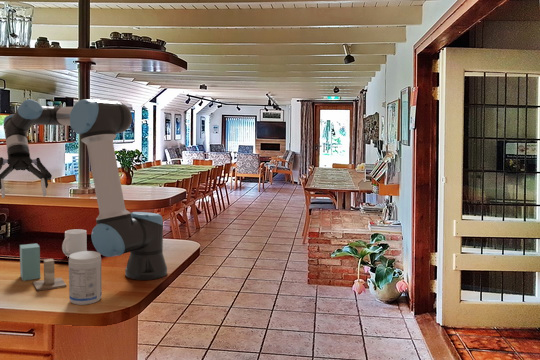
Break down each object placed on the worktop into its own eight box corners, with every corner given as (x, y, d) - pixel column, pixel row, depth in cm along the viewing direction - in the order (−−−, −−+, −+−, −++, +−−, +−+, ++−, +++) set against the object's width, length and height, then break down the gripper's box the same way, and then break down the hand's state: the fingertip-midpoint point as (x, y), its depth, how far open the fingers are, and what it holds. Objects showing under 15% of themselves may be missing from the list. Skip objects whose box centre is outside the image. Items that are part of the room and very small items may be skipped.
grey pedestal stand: (32, 283, 161) (32, 258, 160) (60, 278, 166) (60, 255, 165) (37, 291, 153) (36, 265, 152) (66, 286, 158) (65, 261, 157)
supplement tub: (80, 293, 153) (79, 249, 151) (107, 296, 151) (107, 251, 150) (62, 304, 143) (62, 257, 141) (91, 307, 142) (91, 260, 140)
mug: (71, 261, 186) (71, 236, 185) (54, 259, 189) (53, 234, 187) (90, 254, 198) (90, 230, 197) (74, 252, 200) (74, 228, 199)
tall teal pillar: (20, 276, 167) (19, 245, 166) (37, 273, 170) (37, 243, 169) (22, 280, 163) (21, 248, 161) (40, 278, 166) (39, 246, 164)
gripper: (51, 155, 191) (59, 199, 182) (-21, 154, 176) (-16, 202, 167) (54, 144, 186) (62, 188, 177) (-19, 142, 171) (-15, 190, 162)
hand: (24, 195), depth 172 cm, fingers open, 13 cm apart
